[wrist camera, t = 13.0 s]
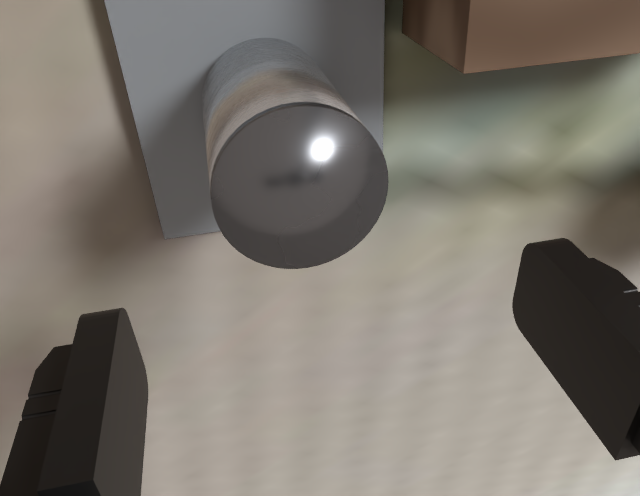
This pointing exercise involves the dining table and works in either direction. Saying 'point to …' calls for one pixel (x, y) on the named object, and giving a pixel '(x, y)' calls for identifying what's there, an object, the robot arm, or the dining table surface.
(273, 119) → the shiny metal cylinder
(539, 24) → the housing
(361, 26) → the mat
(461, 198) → the dining table surface
